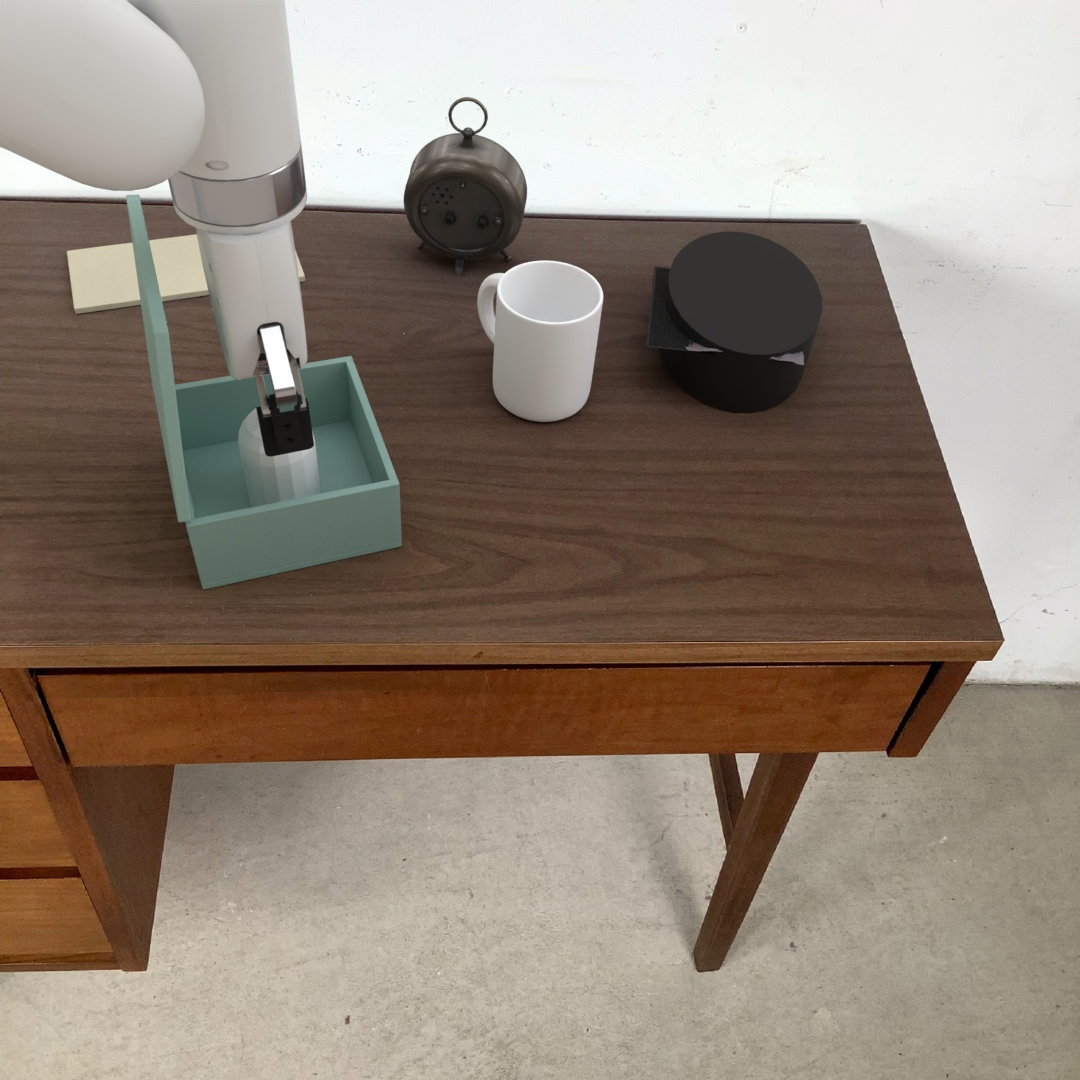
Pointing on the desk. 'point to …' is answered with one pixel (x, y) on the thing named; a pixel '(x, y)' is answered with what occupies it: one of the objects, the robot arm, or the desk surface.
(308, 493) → the capsule
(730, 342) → the black round box
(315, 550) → the mint green open box
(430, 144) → the alarm clock
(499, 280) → the mug
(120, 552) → the desk surface
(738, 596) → the desk surface
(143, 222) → the lid
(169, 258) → the mat
